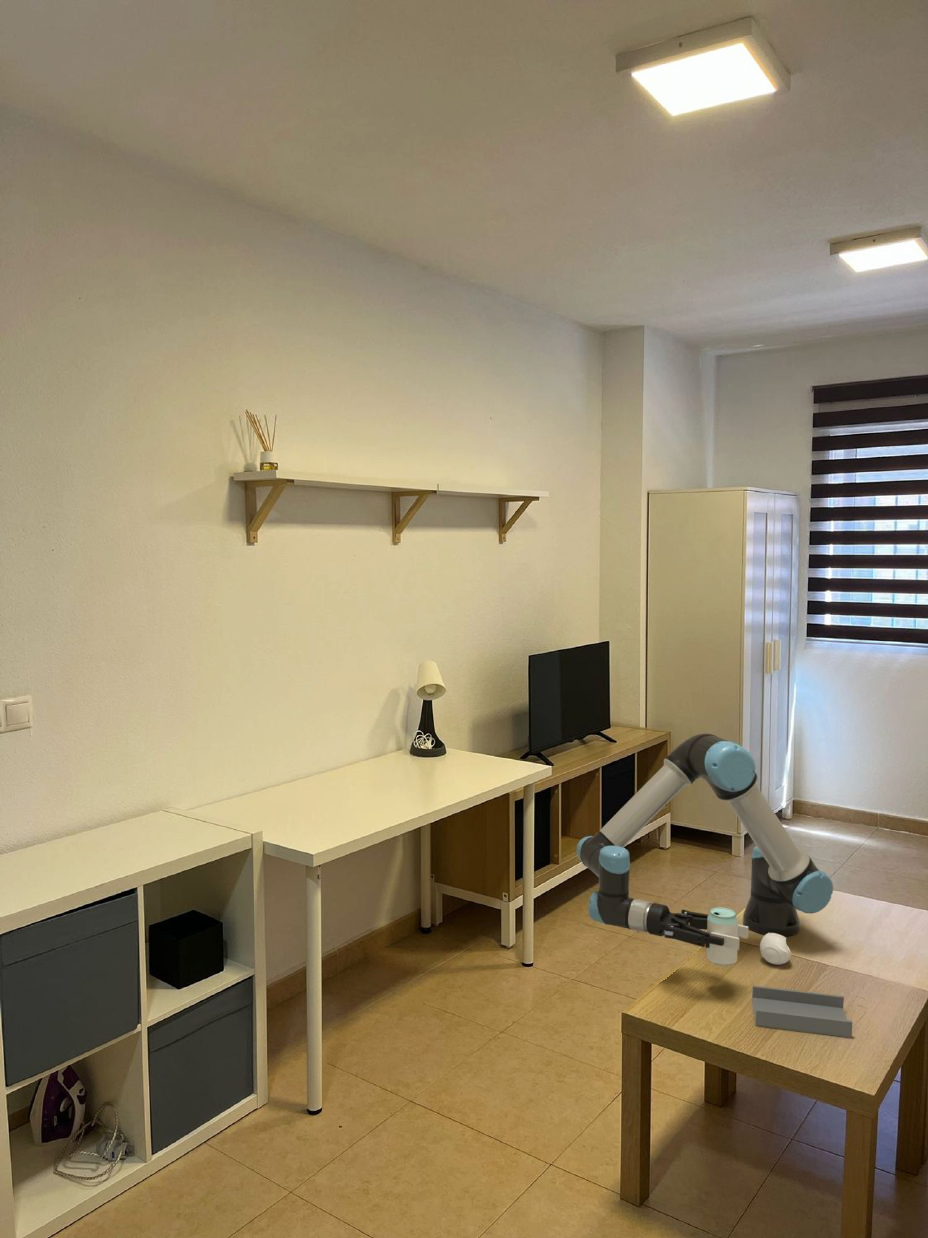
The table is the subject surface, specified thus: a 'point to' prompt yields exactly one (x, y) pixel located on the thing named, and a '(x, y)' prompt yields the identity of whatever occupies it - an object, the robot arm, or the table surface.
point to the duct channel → (800, 1011)
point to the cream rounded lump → (775, 949)
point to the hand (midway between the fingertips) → (743, 938)
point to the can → (722, 924)
